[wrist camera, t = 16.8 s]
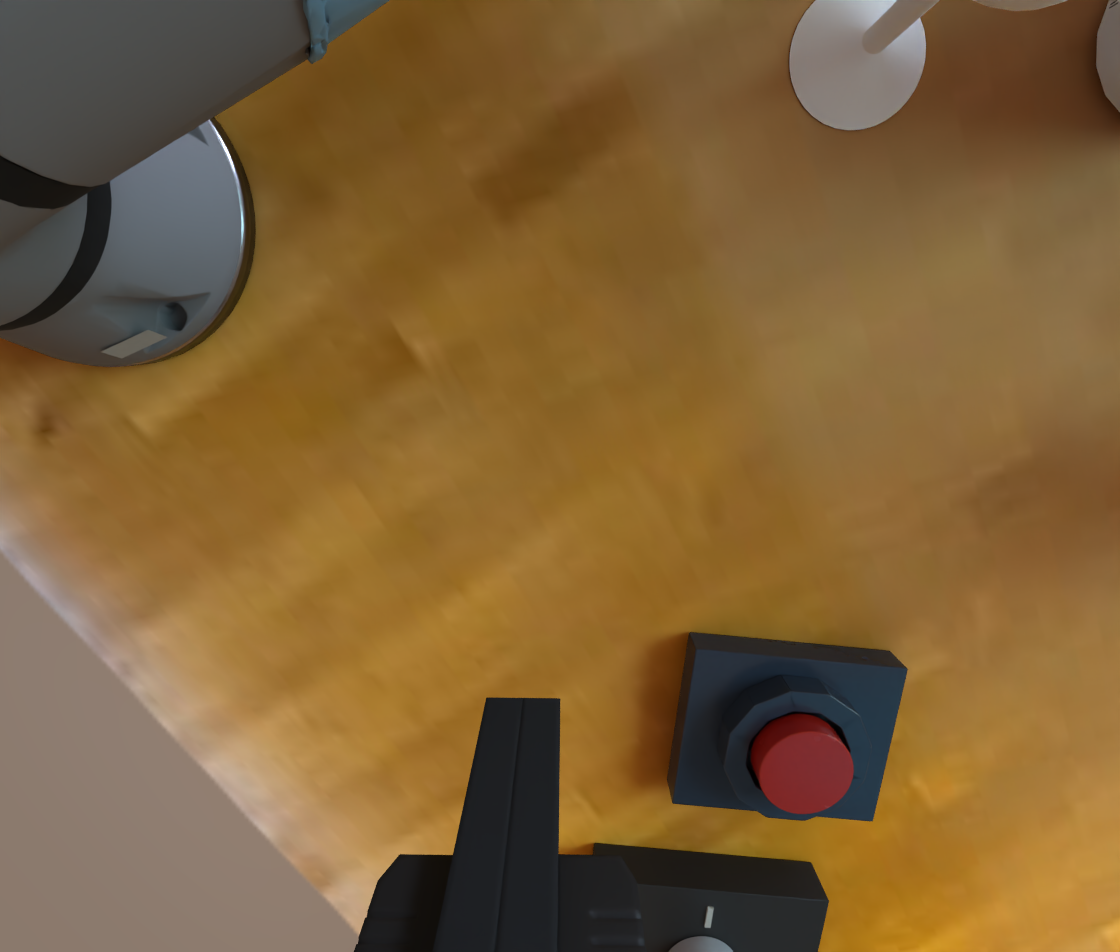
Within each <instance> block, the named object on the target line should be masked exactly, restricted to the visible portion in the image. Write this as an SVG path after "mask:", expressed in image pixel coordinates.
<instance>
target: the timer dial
mask: <svg viewBox="0 0 1120 952" xmlns="http://www.w3.org/2000/svg"><path fill="white" fill-rule="evenodd" d="M669 952H733V950H732V949H731V948H730V947H729V946H728V945H727V944H725V943H724V942H722V941H720V940H718V939H715V938H712V937H706V936H697V937H691V938H687V939H685V940H682V941H680V942H679V943H677V944H676V945H674V946H673V947H672V948H671V949H670V950H669Z"/></svg>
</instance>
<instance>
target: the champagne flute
mask: <svg viewBox="0 0 1120 952" xmlns="http://www.w3.org/2000/svg"><path fill="white" fill-rule="evenodd" d="M938 1H940V0H815V1H814V2H813V4H812V5H811V6H810V7H809V8H808V9H807V11H806V12H805V14H804V15H803V17H802V19H801V20H800V22H799V24H798V26H797V28H796V31H795V33H794V36H793V39H792V44H791V49H790V62H789V69H790V75H791V81H792V84H793V87H794V90H795V93H796V95H797V97H798V99H799V100H800V102H801V103H802V105H803V107H804V108H805V109H806V110H807V111H808V112H809V113H810V114H811V115H812V116H813V117H814V118H816V119H817V120H819V121H820V122H822V123H823V124H825V125H828V126H831V127H833V128H836V129H842V130H862V129H865V128H869V127H873V126H875V125H877V124H879V123H882V122H884V121H886V120H887V119H889V118H890V117H891V116H893V115H894V114H895V113H896V112H898V111H899V110H900V109H901V108H902V106H903V105H904V104H905V103H906V102H907V101H908V100H909V98H910V97H911V95H912V94H913V92H914V90H915V89H916V87H917V85H918V82H919V80H920V77H921V75H922V71H923V67H924V63H925V56H926V40H925V32H924V28H923V25H922V22H921V19H920V17H921V16H923V15H924V14H925V13H926V12H927V11H928V10H929V9H931V8H932V7H933V6H934V5H935V4H936V3H937V2H938ZM972 1H975V2H977V3H980V4H982V5H984V6H987V7H992V8H998V9H1004V10H1010V11H1028V10H1038V9H1041V8H1045V7H1049V6H1052V5H1056V4H1059V3H1062V2H1065V1H1067V0H972Z"/></svg>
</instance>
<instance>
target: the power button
mask: <svg viewBox="0 0 1120 952" xmlns="http://www.w3.org/2000/svg"><path fill="white" fill-rule="evenodd" d="M751 764H752V767H753V770H754V773H755V775H756V777H757V780H758V782H759V784H760V787H761V789H762V791H763V793H764V795H765V796H766V797H767V799H768V800H769V801H770V802H771V803H773V804H774V805H775V806H777V807H778V808H780V809H782V810H784V811H787V812H790V813H795V814H811V813H816V812H820V811H823V810H825V809H827V808H829V807H831V806H833V805H834V804H835V803H837V802H838V801H839V800H840V799H841V798H842V797H843V796H844V795H845V793H846V792H847V790H848V789H849V787H850V785H851V782H852V779H853V773H854V770H853V760H852V757H851V755H850V753H849V751H848V749H847V748H846V746H845V745H844V743H843V742H842V740H841V739H840V737H839V736H838V734H837V733H836V732H835V730H834V729H833V728H832V727H831V726H830V725H829V724H828V723H827V722H826V721H824V720H822V719H820V718H818V717H816V716H812V715H809V714H789V715H785V716H782V717H779V718H777V719H775V720H773V721H772V722H770V723H769V724H767V725H766V726H765V727H764V728H763V729H762V730H761V731H760V732H759V734H758V735H757V737H756V738H755V740H754V743H753V746H752V749H751Z"/></svg>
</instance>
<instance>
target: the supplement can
mask: <svg viewBox="0 0 1120 952" xmlns="http://www.w3.org/2000/svg"><path fill="white" fill-rule="evenodd" d="M1096 68H1097V71H1098V74H1099V77H1100V80H1101V83H1102V86H1103V90H1104V93H1105V96H1106V97H1107V98H1108V99H1109V100H1110V101H1111V103H1112V104H1113V105H1114V106H1115V107H1116V109H1117V110H1118V111H1119V112H1120V0H1109V1H1108V4H1107V7H1106V10H1105V13H1104V16H1103V19H1102V21H1101V24H1100V27H1099V30H1098V33H1097V56H1096Z"/></svg>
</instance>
